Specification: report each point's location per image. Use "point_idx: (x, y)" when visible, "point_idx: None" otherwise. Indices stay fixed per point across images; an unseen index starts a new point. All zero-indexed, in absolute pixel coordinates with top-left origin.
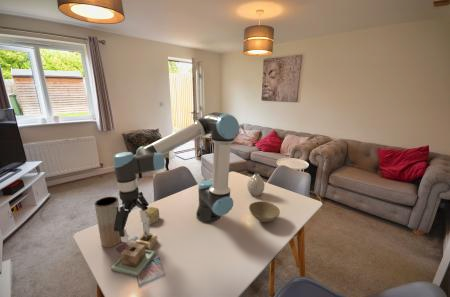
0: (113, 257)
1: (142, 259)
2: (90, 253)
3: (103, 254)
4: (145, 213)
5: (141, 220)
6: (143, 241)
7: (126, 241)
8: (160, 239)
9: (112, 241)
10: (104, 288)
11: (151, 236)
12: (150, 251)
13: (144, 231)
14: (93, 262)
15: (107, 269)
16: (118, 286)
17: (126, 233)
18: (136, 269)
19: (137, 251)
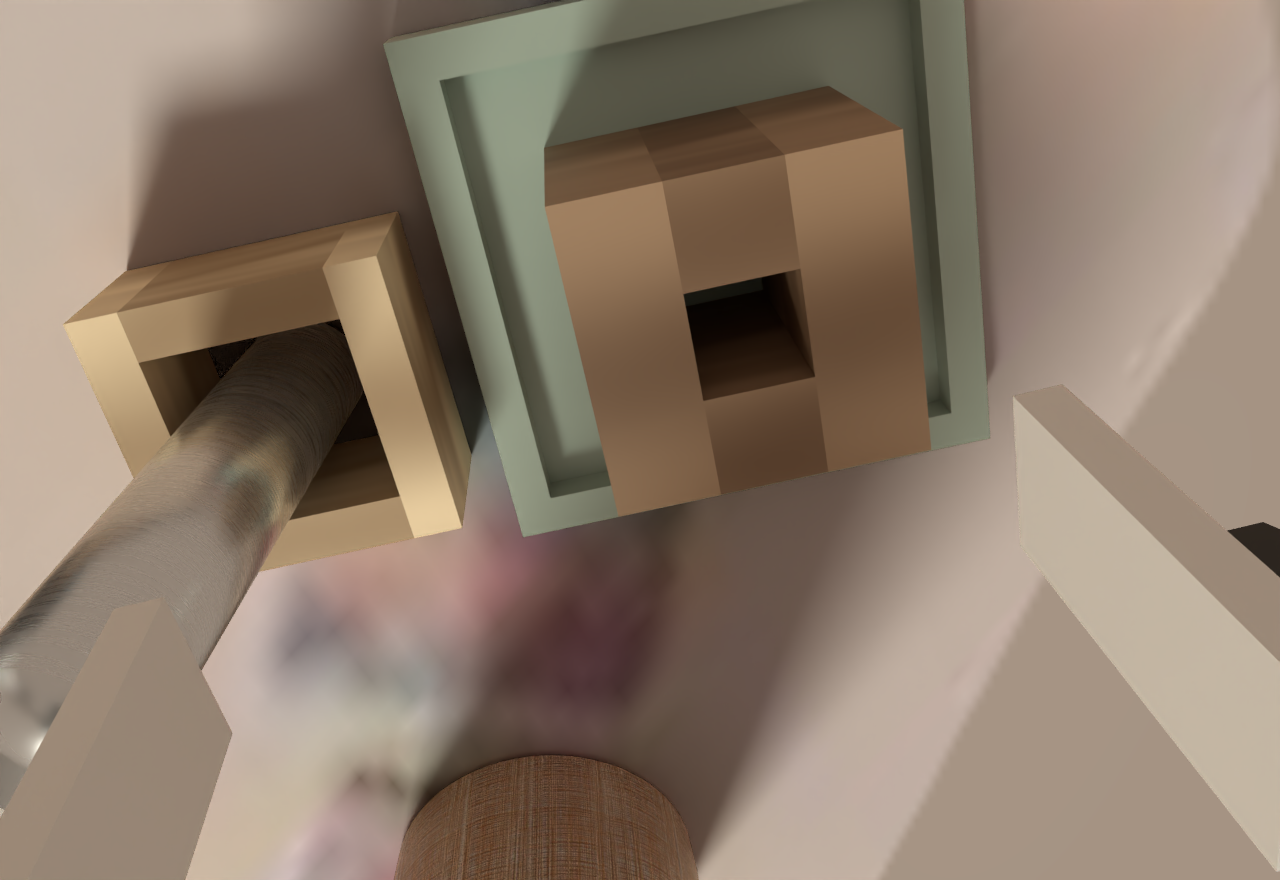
0: (779, 589)
1: (642, 128)
2: (845, 873)
3: (793, 740)
4: (8, 866)
5: (215, 766)
6: (388, 398)
7: (1075, 414)
8: (52, 244)
9: (632, 831)
10: (1244, 225)
11: (167, 392)
12: (440, 126)
13: (267, 522)
14: (945, 721)
15: (976, 473)
16: (1172, 64)
17: (1183, 538)
18: (850, 49)
19: (765, 192)
